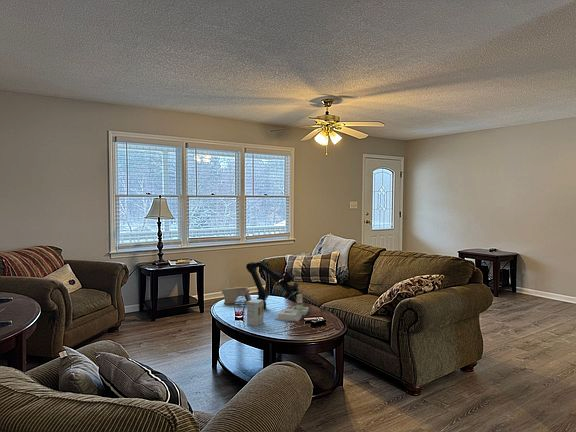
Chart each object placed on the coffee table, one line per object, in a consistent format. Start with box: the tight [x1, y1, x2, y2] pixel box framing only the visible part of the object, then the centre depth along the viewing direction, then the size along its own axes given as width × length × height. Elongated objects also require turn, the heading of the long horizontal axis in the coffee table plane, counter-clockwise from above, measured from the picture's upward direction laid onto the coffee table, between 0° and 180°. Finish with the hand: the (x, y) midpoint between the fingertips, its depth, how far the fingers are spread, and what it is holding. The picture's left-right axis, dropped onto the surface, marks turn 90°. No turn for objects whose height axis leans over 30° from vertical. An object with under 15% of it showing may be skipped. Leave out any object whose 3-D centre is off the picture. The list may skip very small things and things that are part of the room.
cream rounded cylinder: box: [295, 293, 303, 311], centre depth 312 cm, size 5×5×13 cm
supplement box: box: [246, 298, 265, 327], centre depth 286 cm, size 10×9×17 cm
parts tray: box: [291, 305, 309, 316], centre depth 313 cm, size 12×12×3 cm
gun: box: [221, 286, 252, 305], centre depth 338 cm, size 24×3×15 cm, turn 84°
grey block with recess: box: [274, 308, 303, 323], centre depth 299 cm, size 18×14×4 cm
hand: (298, 301), depth 312 cm, fingers open, 9 cm apart
